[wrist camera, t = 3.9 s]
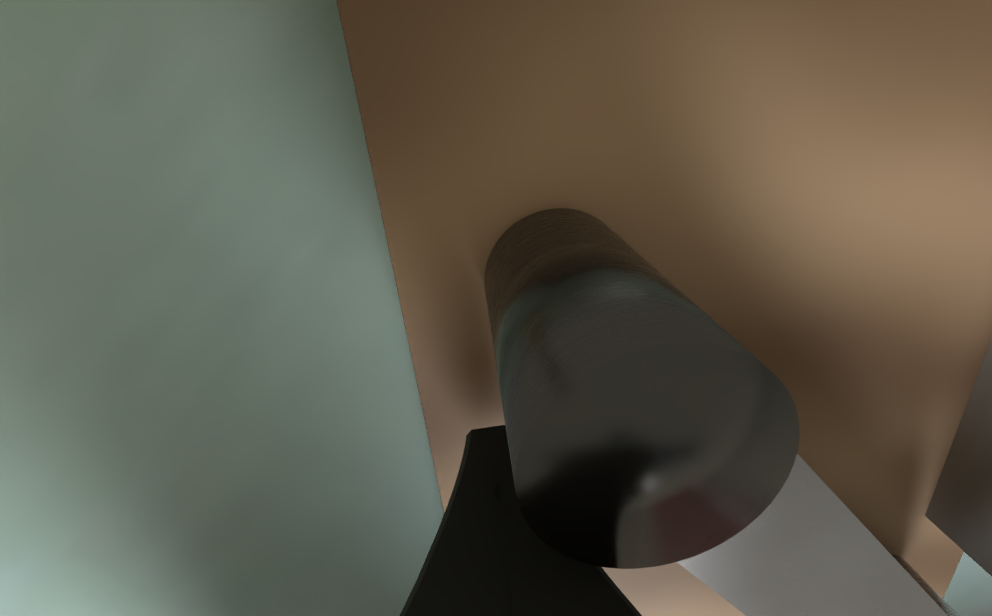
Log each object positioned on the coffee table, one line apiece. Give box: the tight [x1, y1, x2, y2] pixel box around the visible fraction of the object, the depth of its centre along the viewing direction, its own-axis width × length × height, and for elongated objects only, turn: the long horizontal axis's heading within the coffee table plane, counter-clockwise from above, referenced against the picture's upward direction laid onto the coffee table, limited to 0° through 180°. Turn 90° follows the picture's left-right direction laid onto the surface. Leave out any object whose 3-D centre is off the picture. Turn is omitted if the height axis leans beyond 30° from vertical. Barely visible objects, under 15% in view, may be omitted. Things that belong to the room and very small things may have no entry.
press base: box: [337, 0, 992, 616], centre depth 10 cm, size 18×14×4 cm
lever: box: [484, 208, 958, 616], centre depth 9 cm, size 16×3×5 cm, turn 45°
